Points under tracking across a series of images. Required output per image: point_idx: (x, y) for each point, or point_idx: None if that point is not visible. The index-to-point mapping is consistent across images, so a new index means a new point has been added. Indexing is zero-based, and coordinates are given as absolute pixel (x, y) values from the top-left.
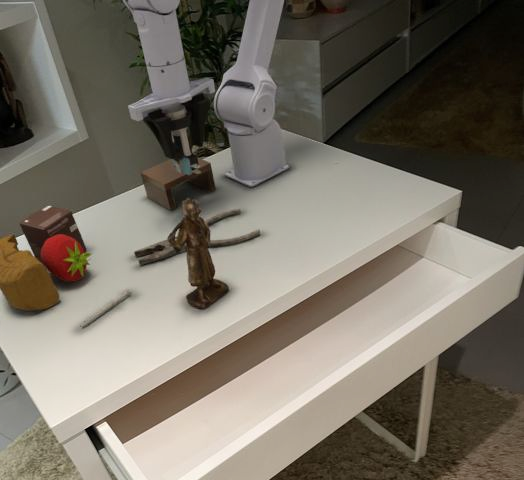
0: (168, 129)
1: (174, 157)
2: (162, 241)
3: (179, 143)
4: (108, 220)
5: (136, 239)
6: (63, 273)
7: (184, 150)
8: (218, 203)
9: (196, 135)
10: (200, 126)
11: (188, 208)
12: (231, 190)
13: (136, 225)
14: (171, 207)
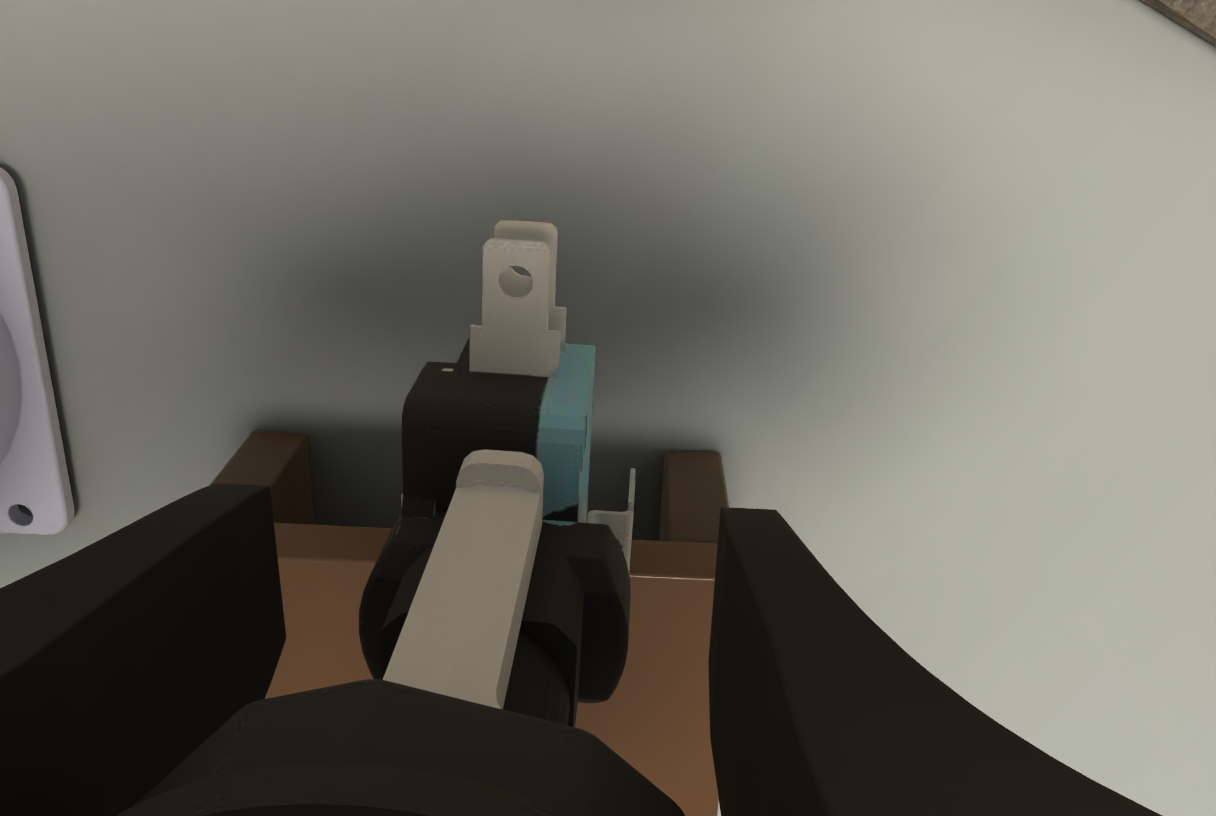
0: (882, 756)
1: (739, 511)
2: (1201, 11)
3: (536, 656)
4: (1077, 725)
5: (1185, 327)
6: None
7: (533, 530)
8: (383, 211)
9: (203, 623)
10: (65, 609)
11: None
12: (170, 296)
13: (1025, 502)
14: (710, 461)
